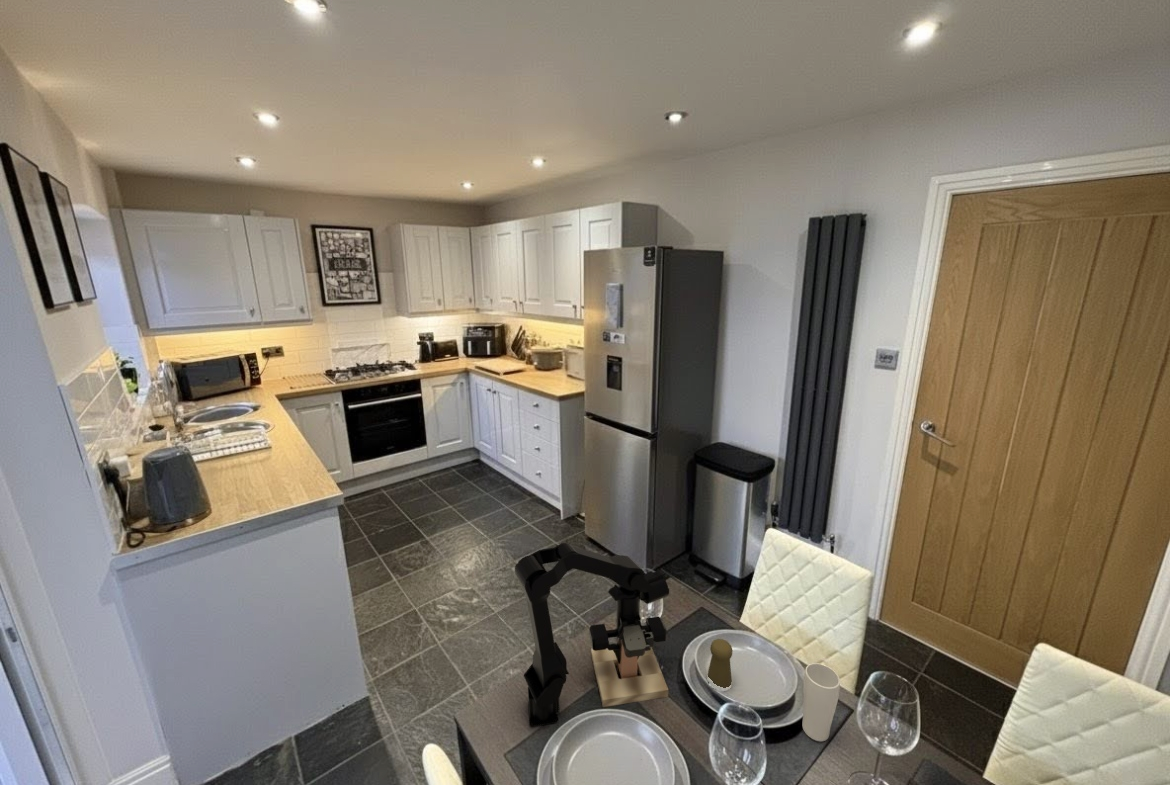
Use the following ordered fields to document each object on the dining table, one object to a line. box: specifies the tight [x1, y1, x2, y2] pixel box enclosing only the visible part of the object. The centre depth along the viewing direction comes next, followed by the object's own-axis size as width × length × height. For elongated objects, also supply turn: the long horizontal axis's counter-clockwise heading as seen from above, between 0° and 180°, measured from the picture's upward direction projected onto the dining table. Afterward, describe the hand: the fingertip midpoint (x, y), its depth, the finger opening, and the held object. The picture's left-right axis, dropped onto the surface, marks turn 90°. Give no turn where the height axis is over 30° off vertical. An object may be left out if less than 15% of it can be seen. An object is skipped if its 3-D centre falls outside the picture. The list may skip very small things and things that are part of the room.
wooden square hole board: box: [590, 647, 669, 708], centre depth 117 cm, size 16×16×2 cm
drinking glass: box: [802, 662, 841, 742], centre depth 100 cm, size 7×7×15 cm
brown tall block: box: [617, 639, 638, 679], centre depth 116 cm, size 4×4×10 cm
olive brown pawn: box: [707, 638, 733, 688], centre depth 113 cm, size 6×6×11 cm
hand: (627, 661), depth 116 cm, fingers closed on brown tall block, 4 cm apart
